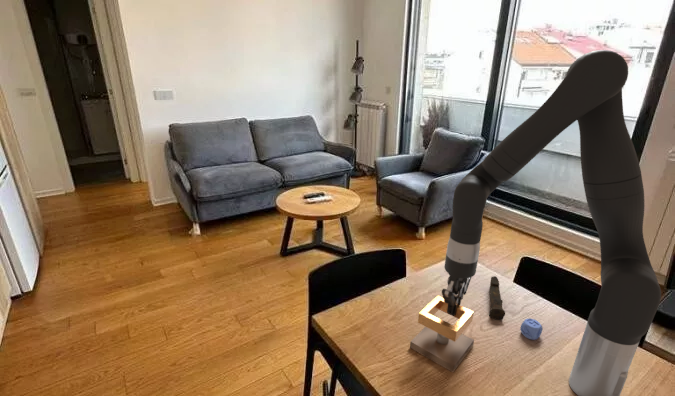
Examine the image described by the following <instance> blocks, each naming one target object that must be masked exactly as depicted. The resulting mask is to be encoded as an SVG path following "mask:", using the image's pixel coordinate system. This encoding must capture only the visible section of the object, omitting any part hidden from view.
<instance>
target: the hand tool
mask: <svg viewBox="0 0 675 396" xmlns="http://www.w3.org/2000/svg"><path fill="white" fill-rule="evenodd" d="M489 283H490V284H489V289H488V293H489V301H490V302H489V303H490V307H489V308H490V310H489V315H488V316H489V318H490V319H492V320H495V321H496V320H497V321H502V320H503V319H504V317H505V315H506V312H505V310H504V309H503V303H504V301H503V299H502V298H501V297H502V296H501V292H500V280H499V279H498V277H497V276H491V277H490V282H489Z"/></svg>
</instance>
